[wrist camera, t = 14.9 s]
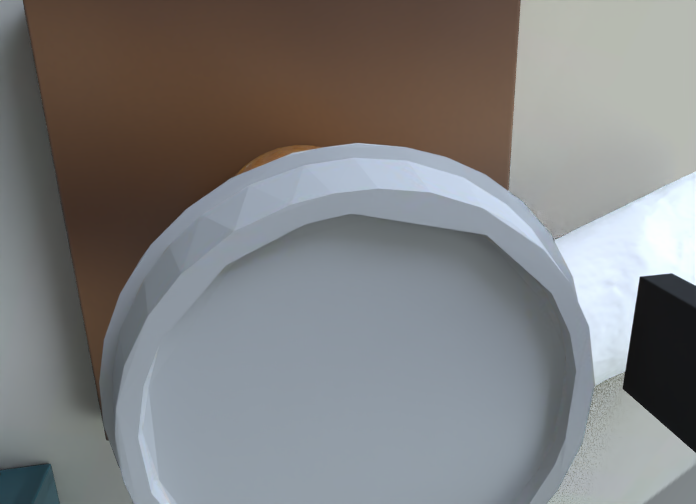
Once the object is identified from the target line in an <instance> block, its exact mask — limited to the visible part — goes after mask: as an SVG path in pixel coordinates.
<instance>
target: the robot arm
mask: <svg viewBox="0 0 696 504" xmlns="http://www.w3.org/2000/svg"><path fill="white" fill-rule="evenodd" d="M623 389H624V390H625V391H626V392H627V393H628V394H629V395H630V396H632V397H633V398H634V399H635V400H636V401H637V402H638V403H640V404H641V405H642V406H643V407H644V408H645V409H646V410H648V411H649V412H650V413H651V414H652V415H653V416H654V417H656V418H657V419H658V420H659V421H660V422H661V423H662V424H664V425H665V426H666V427H667V428H668V429H669V430H670V431H672V432H673V433H674V434H675V435H676V436H677V437H678V438H680V439H681V440H682V441H683V442H684V443H685V444H686V445H688V446H689V447H690V448H691V449H692V450H693V451H694V452H696V286H695V285H693V284H692V283H690V282H688V281H686V280H684V279H682V278H680V277H678V276H676V275H674V274H672V273H669V274H660V275H650V276H640V278H639V285H638V291H637V298H636V305H635V311H634V318H633V324H632V331H631V337H630V344H629V351H628V357H627V364H626V370H625V377H624V383H623ZM0 475H1V473H0Z"/></svg>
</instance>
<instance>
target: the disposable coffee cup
mask: <svg viewBox="0 0 696 504" xmlns="http://www.w3.org/2000/svg"><path fill="white" fill-rule="evenodd" d="M99 385H100V395H101V405H102V415H103V425H104V428H105V431H106V434H107V437H108V439H109V442H110V445H111V447H112V450H113V453H114V455H115V458H116V461H117V463H118V466H119V468H120V469H121V473H122V478H123V481H124V483H125V486H126V488H127V490H128V492H129V494H130V497H131V499H132V501H133V503H134V504H547V503H548V501H549V500H550V499H551V498H552V497H553V495H554V494H555V493H556V492H557V490H558V489H559V487H560V485H561V483H562V481H563V479H564V477H565V475H566V473H567V471H568V469H569V467H570V466H571V464H572V462H573V460H574V458H575V456H576V454H577V452H578V450H579V448H580V446H581V445H582V443H583V438H584V434H585V429H586V424H587V420H588V415H589V410H590V406H591V401H592V396H593V392H594V387H595V380H594V370H593V360H592V350H591V340H590V330H589V325H588V323H587V321H586V318H585V316H584V314H583V312H582V309H581V307H580V305H579V303H578V298H577V294H576V289H575V284H574V280H573V276H572V274H571V272H570V270H569V268H568V266H567V264H566V263H565V261H564V259H563V257H562V255H561V253H560V251H559V249H558V247H557V245H556V243H555V241H554V239H553V237H552V235H551V234H550V233H549V231H548V230H547V229H546V228H545V227H544V226H543V225H542V223H541V222H540V221H539V220H538V219H537V218H536V216H535V215H534V214H533V213H532V212H531V211H530V210H529V208H528V207H527V206H526V205H525V204H524V203H523V202H522V201H521V200H520V199H518V198H517V197H516V196H514V195H513V194H512V193H510V192H509V191H507V190H506V189H505V188H503V187H502V186H501V185H499V184H498V183H496V182H495V181H494V180H492V179H491V178H490V177H488V176H487V175H485V174H483V173H481V172H479V171H476V170H474V169H472V168H470V167H467V166H465V165H463V164H461V163H458V162H456V161H454V160H452V159H450V158H447V157H444V156H440V155H436V154H432V153H428V152H423V151H419V150H415V149H411V148H407V147H398V146H387V145H375V144H364V143H353V144H345V145H338V146H331V147H324V148H322V147H318V146H309V145H294V146H288V147H282V148H277V149H275V150H272V151H269V152H267V153H264V154H262V155H260V156H258V157H257V158H255V159H254V160H252V161H250V162H249V163H247V164H246V165H245V166H244V167H243V168H242V169H241V170H240V171H239V172H238V173H237V174H236V175H235V176H234V177H233V178H230V179H229V180H227V181H226V182H224V183H223V184H222V185H220V186H219V187H217V188H216V189H214V190H213V191H211V192H210V193H209V194H207V195H206V196H204V197H203V198H201V199H200V200H199V201H197V202H196V203H194V204H193V205H191V206H190V207H188V208H187V209H186V210H185V211H184V212H183V213H182V214H181V215H180V216H179V217H178V218H177V219H176V220H175V221H174V222H173V223H172V224H171V225H170V226H169V227H168V228H167V229H166V230H165V231H164V232H163V233H162V234H161V235H160V236H159V237H158V238H157V239H156V240H155V241H154V242H153V243H152V244H151V245H150V247H149V248H148V249H147V251H146V252H145V253H144V255H143V256H142V258H141V259H140V261H139V263H138V264H137V266H136V268H135V269H134V271H133V273H132V274H131V276H130V278H129V279H128V281H127V283H126V284H125V286H124V288H123V290H122V291H121V293H120V295H119V298H118V301H117V304H116V307H115V309H114V312H113V315H112V318H111V321H110V324H109V327H108V330H107V332H106V335H105V338H104V344H103V353H102V362H101V371H100V380H99Z"/></svg>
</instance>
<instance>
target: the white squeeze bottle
mask: <svg viewBox="0 0 696 504" xmlns="http://www.w3.org/2000/svg"><path fill="white" fill-rule="evenodd" d="M554 241H555V243H556V245H557V247H558V249H559V251H560V253H561V255H562V257H563V259H564V261H565V263H566V264H567V266H568V268H569V270H570V272H571V274H572V276H573V280H574V284H575V289H576V294H577V298H578V303H579V305H580V307H581V309H582V312H583V314H584V316H585V318H586V321H587V323H588V325H589V330H590V340H591V350H592V360H593V370H594V380H595V386H596V385H598V384H600V383H601V382H603V381H605V380H607V379H610V378H612V377H614V376H616V375H618V374H620V373H622V372H625V370H626V364H627V357H628V351H629V344H630V337H631V331H632V324H633V318H634V311H635V305H636V298H637V291H638V285H639V278H640V276H650V275H660V274H669V273H672V274H674V275H676V276H678V277H680V278H682V279H684V280H686V281H688V282H690V283H692V284H693V285H695V286H696V172H694V173H692V174H689V175H687V176H684V177H682V178H680V179H678V180H676V181H674V182H672V183H670V184H668V185H666V186H663V187H661V188H659V189H657V190H655V191H653V192H651V193H650V194H648V195H646V196H644V197H642V198H639V199H637V200H635V201H633V202H631V203H629V204H627V205H625V206H623V207H621V208H618V209H616V210H614V211H613V212H611V213H608V214H606V215H604V216H602V217H600V218H598V219H596V220H594V221H592V222H590V223H588V224H585V225H583V226H581V227H579V228H577V229H575V230H574V231H572V232H570V233H568V234H566V235H564V236H562V237H560V238H558V239H556V240H554Z"/></svg>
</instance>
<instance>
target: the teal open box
mask: <svg viewBox="0 0 696 504" xmlns="http://www.w3.org/2000/svg"><path fill="white" fill-rule="evenodd" d="M0 473H1V475H0V504H60V502H59V498H58V493H57V489H56V485H55V480H54V476H53V471H52V467H51V464H43V465H35V466H28V467H20V468H12V469H4V470H0Z"/></svg>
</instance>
